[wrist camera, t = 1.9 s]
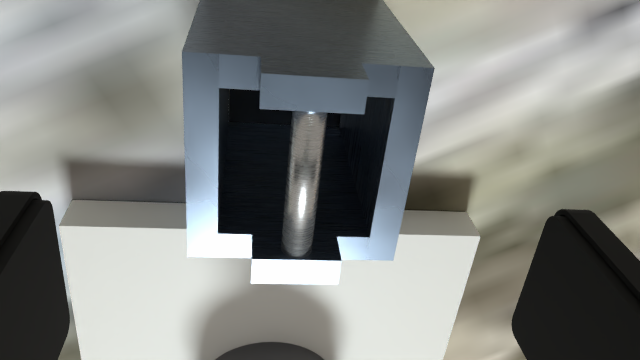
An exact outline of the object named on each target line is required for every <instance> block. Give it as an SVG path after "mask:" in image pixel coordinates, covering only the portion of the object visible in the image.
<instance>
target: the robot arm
mask: <svg viewBox="0 0 640 360" xmlns="http://www.w3.org/2000/svg"><path fill="white" fill-rule="evenodd" d="M69 323H70V315H69V308H68V302H67V295H66V289H65V283H64V276H63V270H62V264H61V257H60V251H59V245H58V238H57V232H56V226H55V219H54V213H53V207H52V204H51V202H50V201H47V200H42V199H41V196H40V195H39V193H37V192H20V191H1V192H0V360H58V357H59V355H60V352H61V350H62V347H63V345H64V342H65V340H66V337H67V334H68V330H69ZM512 331H513V334H514V337H515V339H516V340H517V342H518V344H519V346H520V348H521V350H522V352H523V353H524V355H525V357H526V359H527V360H640V261H639V260H638V259H637V258H636V257H635V255H634V254H633V253H632V252H631V251H630V250H629V249H628V248H627V247H626V246H625V245H624V244H623V243H622V242H621V241H620V240H619V239H618V238H617V237H616V236H615V234H614V233H613V232H612V231H611V230H610V229H609V228H608V227H607V226H606V225H605V224H604V223H603V222H602V221H601V220H600V219H599V218H598V217H597V216H596V215H595V213H593V212H592V211H589V210H570V209H561V210H559V211H557V212H556V214H555V215H554V216H551V217H549V218H548V219H547V221H546V223H545V226H544V229H543V232H542V234H541V237H540V240H539V243H538V246H537V249H536V252H535V254H534V257H533V260H532V263H531V266H530V269H529V272H528V274H527V277H526V280H525V283H524V286H523V289H522V292H521V294H520V297H519V300H518V303H517V306H516V309H515V312H514V314H513V318H512Z"/></svg>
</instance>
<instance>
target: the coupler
mask: <svg viewBox="0 0 640 360" xmlns="http://www.w3.org/2000/svg"><path fill="white" fill-rule="evenodd" d="M182 69H183V107H184V145H185V183H186V221H187V257H220V258H251V283H257V284H337V285H338V282H339V275H340V269H341V262H342V260H383V261H393V260H394V255H395V251H396V246H397V241H398V237H399V232H400V227H401V222H402V218H403V213H404V208H405V204H406V199H407V194H408V190H409V185H410V180H411V176H412V171H413V166H414V162H415V157H416V152H417V148H418V143H419V138H420V133H421V129H422V124H423V119H424V115H425V110H426V105H427V101H428V96H429V91H430V87H431V82H432V77H433V73H434V67H433V66H432V64H431V63H430V62H429V60H428V59H427V58H426V56H425V55H424V54H423V52H422V51H421V50H420V49H419V47H418V46H417V45H416V43H415V42H414V41H413V39H412V38H411V37H410V35H409V34H408V33H407V31H406V30H405V29H404V28H403V26H402V25H401V24H400V22H399V21H398V20H397V18H396V17H395V16H394V14H393V13H392V12H391V10H390V9H389V8H388V6H387V5H386V4H385V3H384V1H383V0H200V2H199V5H198V8H197V11H196V13H195V16H194V19H193V22H192V25H191V28H190V30H189V33H188V36H187V39H186V42H185V45H184V47H183V50H182ZM230 89H243V90H259V109H271V110H289V111H292V119H291V125H280V124H260V123H240V122H229V97H230ZM328 113H341V117H340V125H339V127H326V123H327V114H328Z"/></svg>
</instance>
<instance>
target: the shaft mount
mask: <svg viewBox="0 0 640 360" xmlns="http://www.w3.org/2000/svg"><path fill="white" fill-rule="evenodd" d="M59 229H60V235H61V241H62V247H63V253H64V259H65V265H66V271H67V277H68V283H69V288H70V294H71V300H72V306H73V312H74V318H75V324H76V330H77V336H78V342H79V348H80V353H81V359H82V360H443V357H444V354H445V351H446V347H447V344H448V341H449V338H450V334H451V331H452V328H453V325H454V321H455V318H456V315H457V312H458V308H459V305H460V302H461V298H462V295H463V292H464V289H465V285H466V282H467V279H468V276H469V272H470V269H471V266H472V263H473V259H474V256H475V253H476V249H477V246H478V243H479V240H480V235H479V233H478V231H477V229H476V227H475V226H474V224H473V222H472V220H471V218H470V217H469V215H468V213H467V212H451V211H418V210H404V213H403V218H402V222H401V227H400V232H399V237H398V241H397V246H396V251H395V255H394V260H393V261H383V260H342V262H341V269H340V275H339V282H338V285H337V284H257V283H251V258H220V257H187V221H186V203H159V202H126V201H94V200H72V201H71V203H70V205H69V207H68V209H67V211H66V213H65V215H64V217H63V219H62V221H61V223H60V225H59Z"/></svg>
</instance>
